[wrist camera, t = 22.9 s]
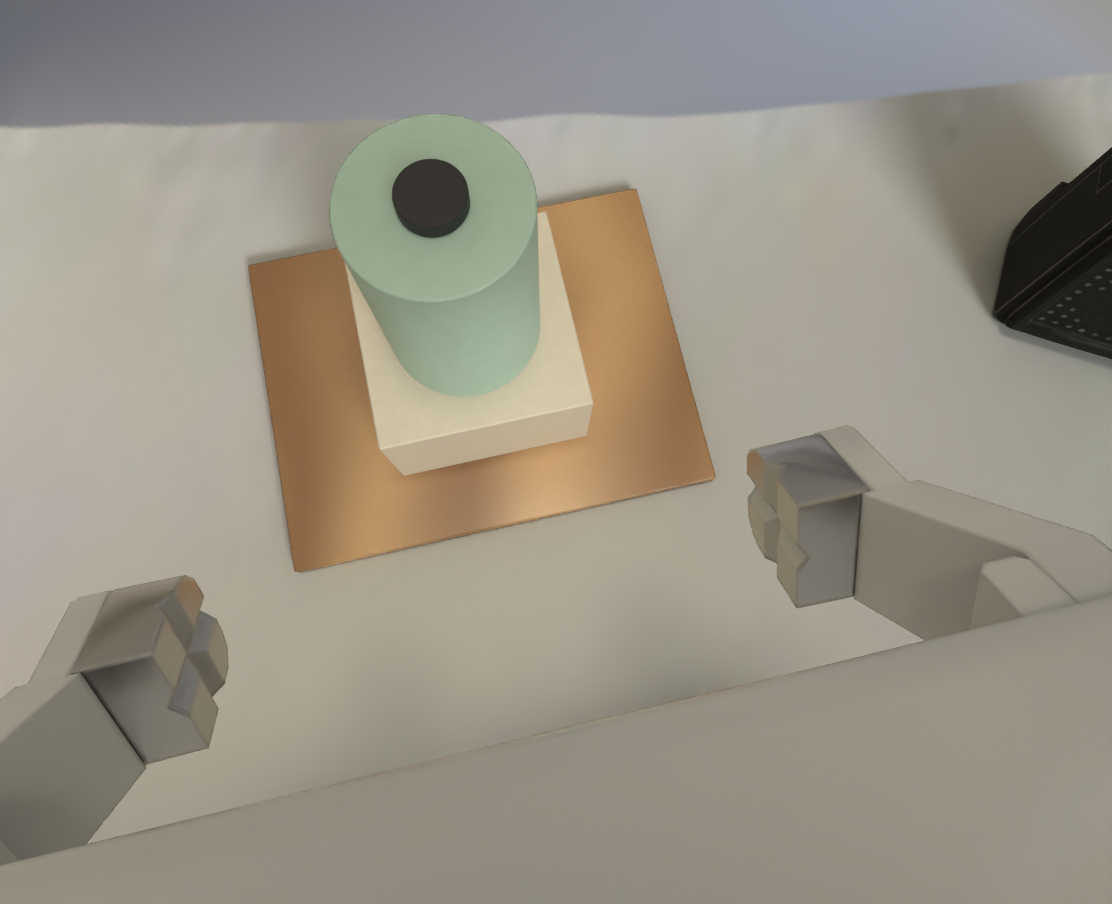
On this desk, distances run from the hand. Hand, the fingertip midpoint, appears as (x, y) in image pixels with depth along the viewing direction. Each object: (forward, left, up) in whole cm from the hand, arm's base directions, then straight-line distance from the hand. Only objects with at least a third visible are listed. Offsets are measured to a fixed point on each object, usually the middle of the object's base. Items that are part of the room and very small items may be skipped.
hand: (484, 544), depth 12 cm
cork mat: (0, +10, -22) cm, 24 cm away
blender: (0, +10, -21) cm, 24 cm away
